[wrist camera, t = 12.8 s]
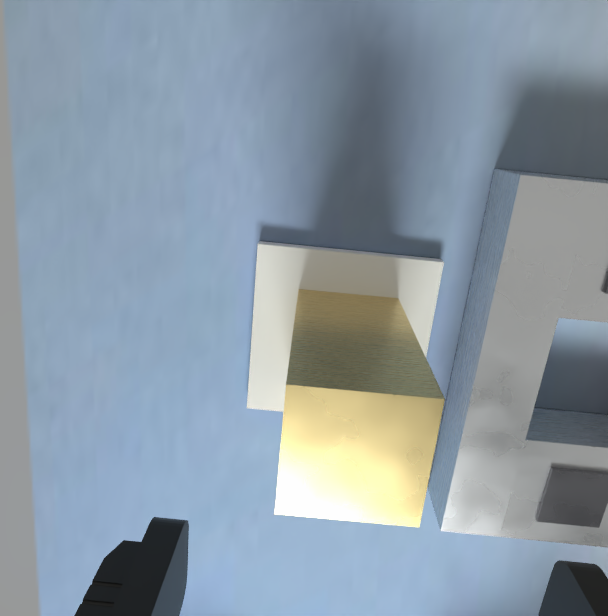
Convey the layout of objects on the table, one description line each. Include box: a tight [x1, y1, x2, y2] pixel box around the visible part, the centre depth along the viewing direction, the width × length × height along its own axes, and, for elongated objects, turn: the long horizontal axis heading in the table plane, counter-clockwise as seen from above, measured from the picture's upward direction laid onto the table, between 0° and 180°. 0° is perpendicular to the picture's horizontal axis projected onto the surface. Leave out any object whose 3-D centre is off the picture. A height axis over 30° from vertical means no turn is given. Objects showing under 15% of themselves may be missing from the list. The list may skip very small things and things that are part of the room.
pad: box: [247, 241, 444, 412], centre depth 24 cm, size 8×8×1 cm
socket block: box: [428, 169, 608, 547], centre depth 23 cm, size 11×16×3 cm
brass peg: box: [275, 289, 445, 527], centre depth 19 cm, size 4×4×9 cm
